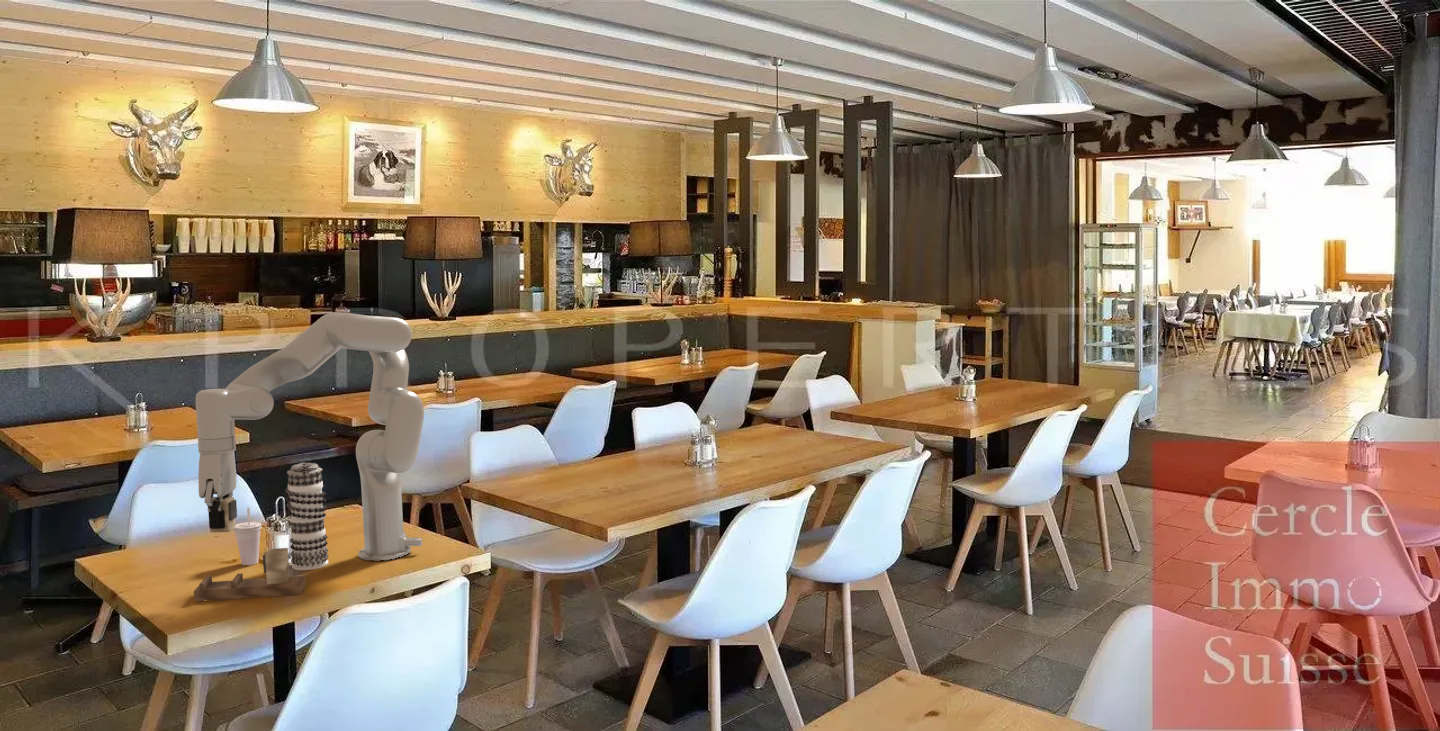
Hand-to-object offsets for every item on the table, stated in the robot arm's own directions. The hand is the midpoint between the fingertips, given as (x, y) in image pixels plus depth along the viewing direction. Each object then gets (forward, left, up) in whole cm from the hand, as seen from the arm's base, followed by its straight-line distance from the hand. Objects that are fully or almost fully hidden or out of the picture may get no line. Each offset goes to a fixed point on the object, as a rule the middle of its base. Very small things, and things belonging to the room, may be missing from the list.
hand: (221, 524), depth 237 cm
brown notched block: (-6, +2, -16) cm, 17 cm away
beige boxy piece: (0, 0, -1) cm, 1 cm away
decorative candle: (-15, -18, -16) cm, 28 cm away
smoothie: (0, -23, -16) cm, 28 cm away
